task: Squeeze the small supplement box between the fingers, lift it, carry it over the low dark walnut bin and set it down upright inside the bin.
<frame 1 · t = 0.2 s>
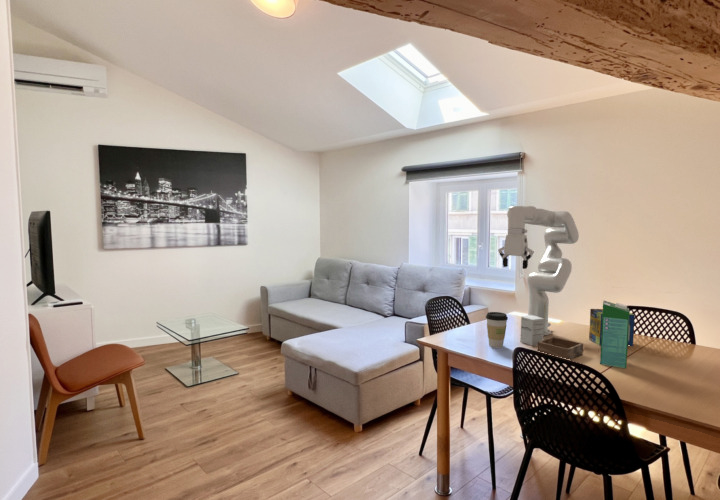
hand: (514, 267, 195), 36 cm above the table, tool pointing down, fingers open, 9 cm apart
protein box: (610, 343, 194), on the table
coffee cup: (495, 346, 190), on the table
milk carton: (613, 363, 167), on the table
supplement box: (531, 343, 194), on the table
bin: (559, 353, 179), on the table
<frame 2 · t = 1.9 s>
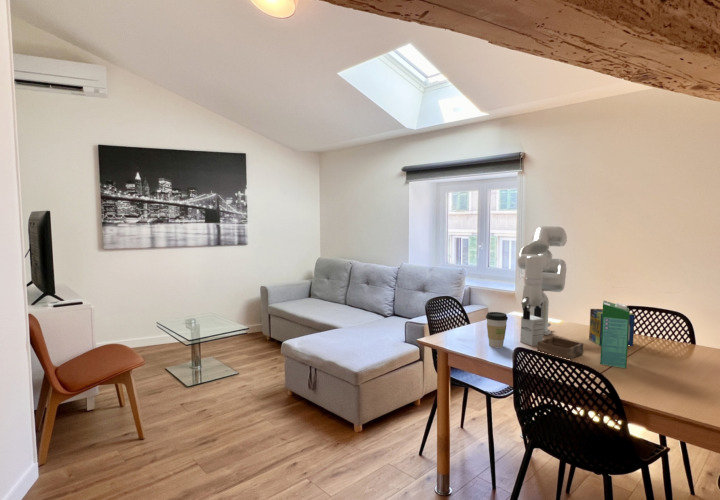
hand: (532, 317, 193), 12 cm above the table, tool pointing down, fingers open, 9 cm apart
supplement box: (531, 343, 194), on the table, touching gripper
everything else where it was.
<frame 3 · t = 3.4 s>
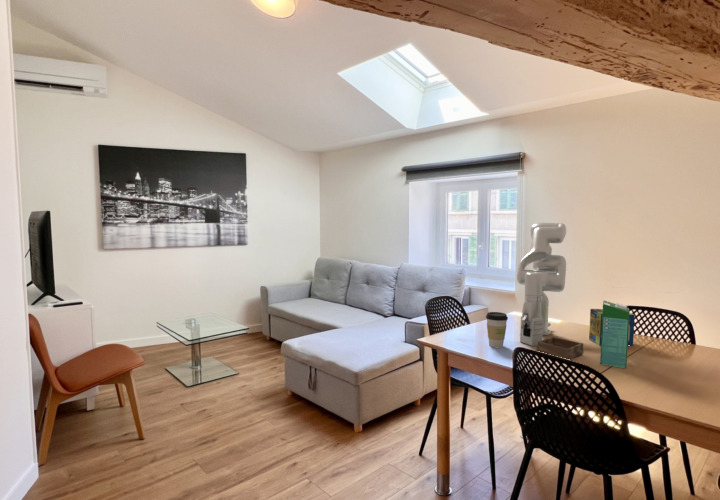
hand: (531, 334, 194), 4 cm above the table, tool pointing down, fingers closed on supplement box, 8 cm apart
supplement box: (531, 343, 194), on the table, touching gripper
everything else where it was.
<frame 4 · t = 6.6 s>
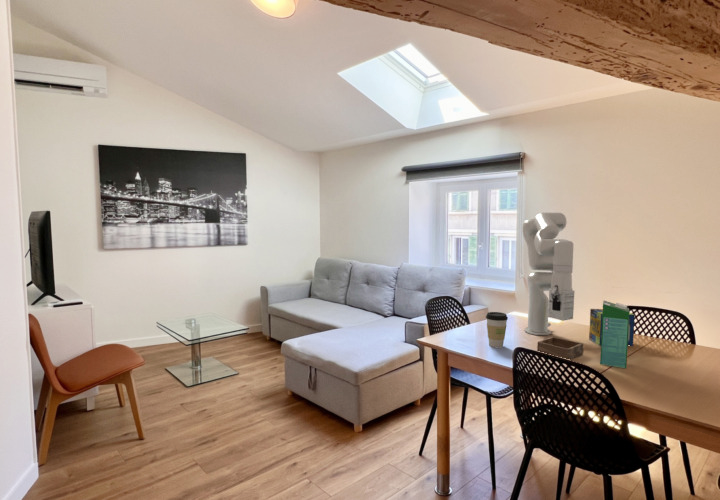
hand: (561, 308, 177), 20 cm above the table, tool pointing down, fingers closed on supplement box, 8 cm apart
supplement box: (560, 318, 178), point 16 cm above the table, touching gripper
everything else where it was.
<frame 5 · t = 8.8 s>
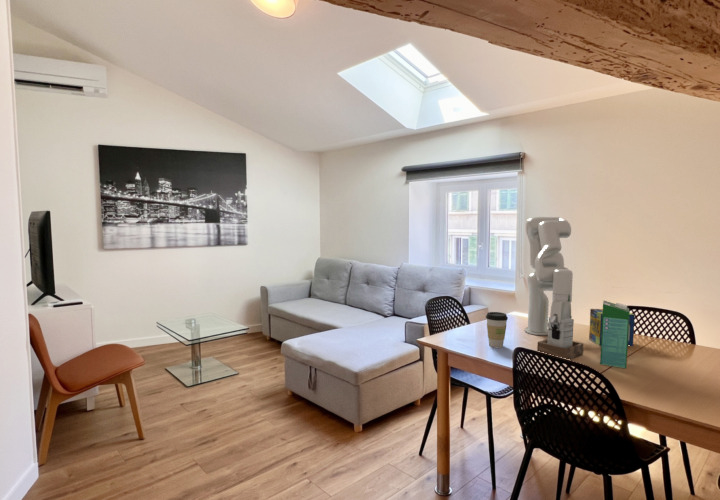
hand: (560, 337, 178), 8 cm above the table, tool pointing down, fingers closed on supplement box, 8 cm apart
supplement box: (559, 346, 178), point 3 cm above the table, touching gripper
everything else where it was.
when the fingers open (6 cm above the table, at t = 10.1 s): supplement box drops 2 cm, resting on bin.
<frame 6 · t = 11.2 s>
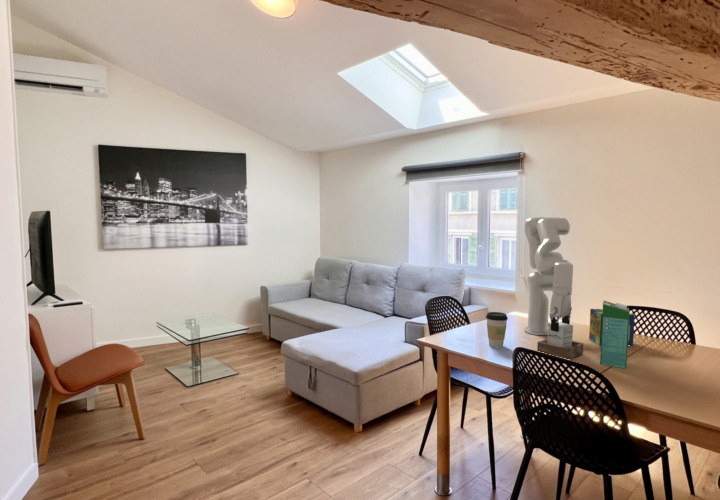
hand: (560, 328, 179), 11 cm above the table, tool pointing down, fingers open, 9 cm apart
supplement box: (559, 352, 179), resting on bin
everything else where it was.
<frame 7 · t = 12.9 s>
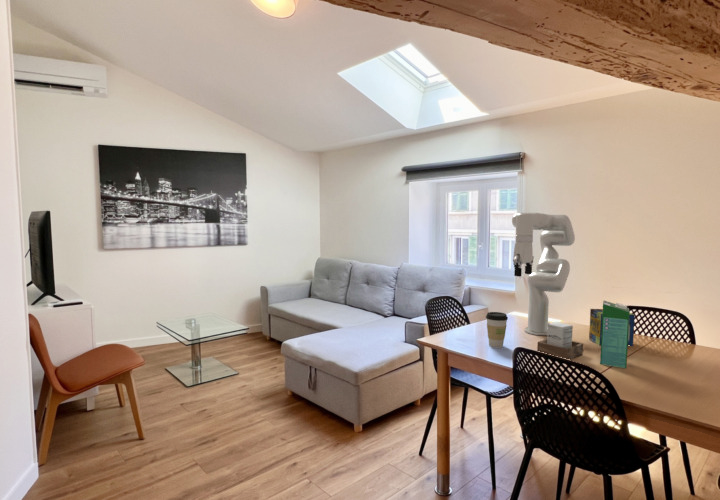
hand: (523, 275, 194), 32 cm above the table, tool pointing down, fingers open, 9 cm apart
nothing on the table moved.
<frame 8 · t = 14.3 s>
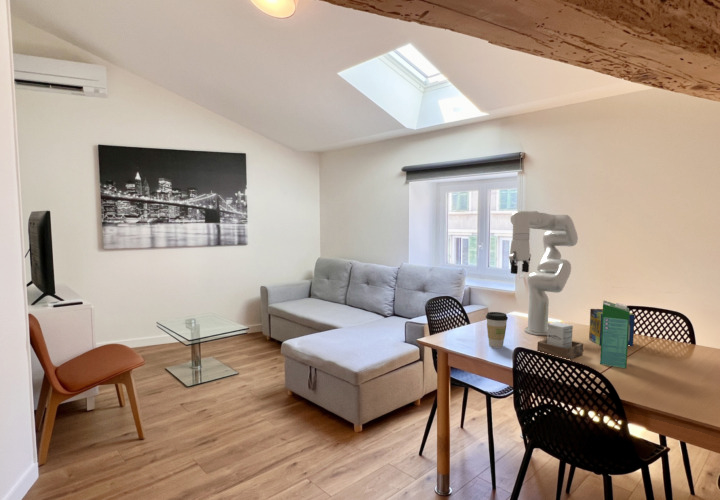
hand: (519, 272, 195), 33 cm above the table, tool pointing down, fingers open, 9 cm apart
nothing on the table moved.
at the end: supplement box inside the target area on the bin (0.4 cm from its centre), point 0.4 cm above the bin's base; supplement box tilted 0°; the gripper is holding nothing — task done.
